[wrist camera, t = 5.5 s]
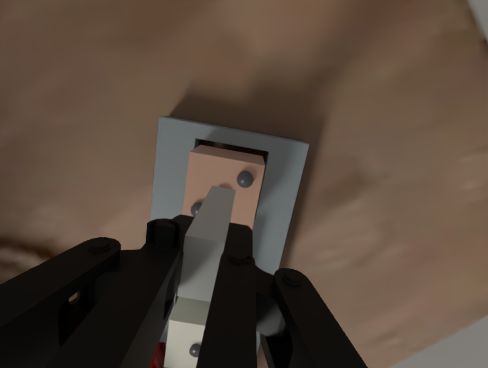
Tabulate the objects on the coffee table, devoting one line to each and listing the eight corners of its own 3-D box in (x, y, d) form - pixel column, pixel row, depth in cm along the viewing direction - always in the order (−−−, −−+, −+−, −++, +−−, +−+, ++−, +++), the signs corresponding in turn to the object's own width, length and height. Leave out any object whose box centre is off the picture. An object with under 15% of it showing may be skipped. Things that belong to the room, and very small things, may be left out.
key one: (176, 330, 28) (162, 370, 23) (181, 288, 26) (168, 322, 22) (225, 338, 28) (221, 379, 23) (234, 296, 26) (231, 332, 22)
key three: (193, 202, 24) (180, 223, 19) (200, 144, 22) (188, 152, 18) (250, 213, 24) (251, 235, 19) (262, 155, 22) (265, 166, 18)
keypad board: (149, 320, 30) (140, 338, 28) (168, 116, 24) (158, 116, 21) (255, 337, 30) (256, 357, 28) (303, 141, 24) (309, 144, 22)
